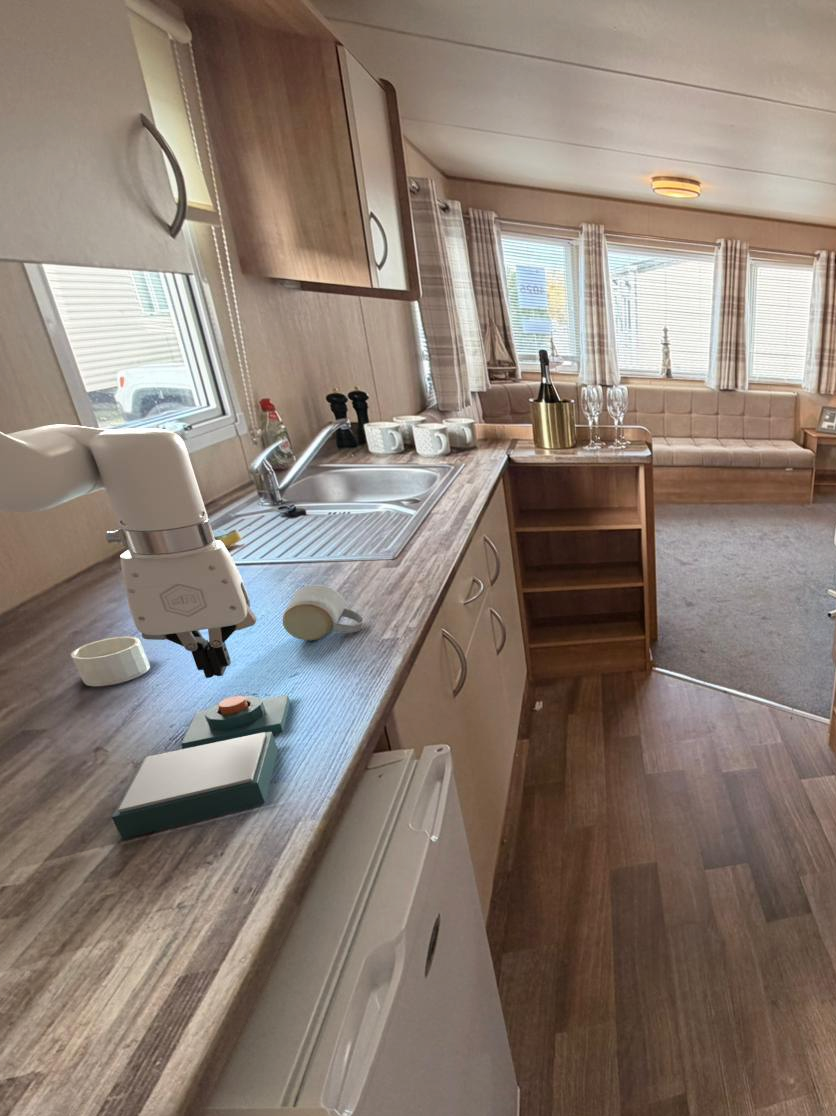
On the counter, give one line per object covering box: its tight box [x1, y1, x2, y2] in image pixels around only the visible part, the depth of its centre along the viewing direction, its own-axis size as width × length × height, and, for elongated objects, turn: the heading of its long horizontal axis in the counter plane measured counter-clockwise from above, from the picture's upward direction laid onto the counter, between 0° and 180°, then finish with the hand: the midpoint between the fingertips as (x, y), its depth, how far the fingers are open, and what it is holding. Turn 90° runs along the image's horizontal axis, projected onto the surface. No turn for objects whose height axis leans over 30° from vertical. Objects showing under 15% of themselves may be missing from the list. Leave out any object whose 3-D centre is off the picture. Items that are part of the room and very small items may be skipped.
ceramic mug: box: [282, 584, 365, 642], centre depth 110 cm, size 11×8×8 cm
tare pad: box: [180, 694, 291, 749], centre depth 85 cm, size 10×8×3 cm
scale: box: [111, 732, 279, 839], centre depth 74 cm, size 12×11×3 cm
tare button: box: [217, 695, 248, 715], centre depth 85 cm, size 3×3×1 cm
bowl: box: [70, 636, 151, 687], centre depth 95 cm, size 7×7×5 cm
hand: (216, 671), depth 82 cm, fingers closed
